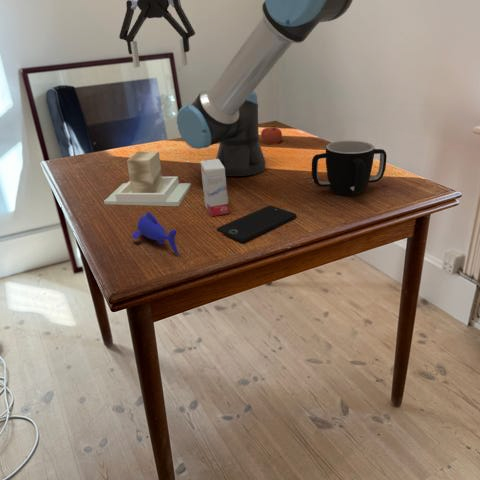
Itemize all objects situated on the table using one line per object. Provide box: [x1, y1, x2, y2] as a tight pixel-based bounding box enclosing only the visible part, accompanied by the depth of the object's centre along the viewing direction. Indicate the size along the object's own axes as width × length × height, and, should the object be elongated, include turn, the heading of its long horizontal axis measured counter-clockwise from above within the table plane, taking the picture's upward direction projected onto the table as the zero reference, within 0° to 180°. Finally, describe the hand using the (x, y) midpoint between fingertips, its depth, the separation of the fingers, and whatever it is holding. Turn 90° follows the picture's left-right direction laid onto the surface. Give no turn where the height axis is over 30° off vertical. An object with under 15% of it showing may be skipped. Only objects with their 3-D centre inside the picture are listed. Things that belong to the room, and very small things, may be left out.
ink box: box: [200, 158, 230, 217], centre depth 117 cm, size 9×5×12 cm, turn 13°
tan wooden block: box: [126, 151, 163, 193], centre depth 127 cm, size 6×8×10 cm
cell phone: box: [216, 205, 297, 243], centre depth 111 cm, size 9×18×1 cm, turn 133°
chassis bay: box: [103, 176, 192, 207], centre depth 129 cm, size 20×14×4 cm
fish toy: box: [131, 211, 179, 255], centre depth 102 cm, size 15×8×7 cm, turn 41°
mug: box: [311, 140, 387, 196], centre depth 124 cm, size 16×16×12 cm
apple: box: [260, 124, 283, 145], centre depth 167 cm, size 7×7×8 cm
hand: (160, 66), depth 130 cm, fingers open, 13 cm apart
